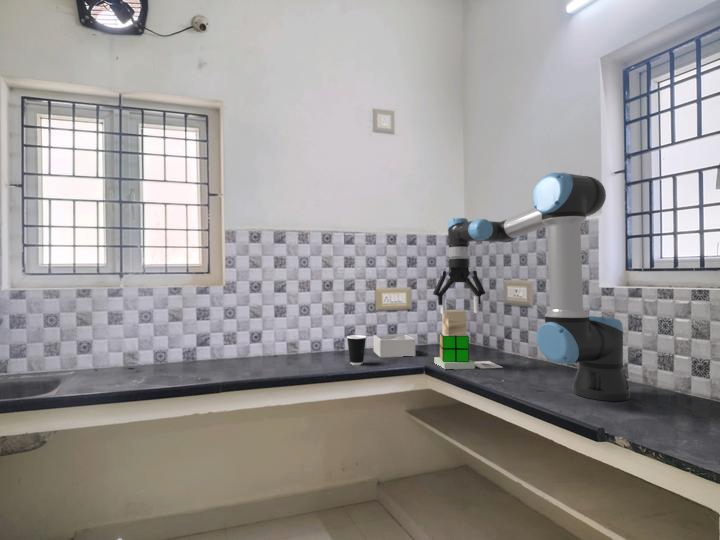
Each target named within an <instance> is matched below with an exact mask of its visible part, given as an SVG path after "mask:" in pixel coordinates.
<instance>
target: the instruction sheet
mask: <svg viewBox="0 0 720 540" xmlns="http://www.w3.org/2000/svg"><path fill="white" fill-rule="evenodd" d="M474 362H475V367H477V368H479V369H502V368H503V369H504V367H503V366H501V365H499V364H496V363H495V362H492V361H490V360H488V361H487V360H486V361H483V360H482V361H474Z"/></svg>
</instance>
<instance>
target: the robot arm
mask: <svg viewBox="0 0 720 540" xmlns="http://www.w3.org/2000/svg"><path fill="white" fill-rule="evenodd" d="M606 197H607V195H606V189H605V186H604V185H603V183H602V182H601V181H600V180H598V179H597V178H595V177H593V176H588V175H580V174H579V175H578V174H571V173H567V172H550V173H548V174H546V175H544V176H543V177H541V179H540V180H539V181H538V183H537V184H535V187H534V189H533V192H532V197H531V198H532V199H531V200H532V205H533V208H531V209H529V210H527V211H524V212H522V213H519V214H516V215H514V216H511V217H509V218H506V219H504V220H502V221H492V220H491V221H490V220H488V219H486V218H481V219H479V218H476V219H475V220H471V221H469V220H468V218H465V217H455V218H450V219H449V220H448V225H447V226H448V228H447V232H448V233H447V234H448V235H447V236H448V258H449V259H448V271H446V270H442V271H441V272H440V278H438V279H439V280H438V281H437V284H436V286H435V288H434V291H433V292H432V293H433V295H434V296H437V303H438V306H440V314H441V315H442V314H445V311H446V300H445V299H446V297H445V296H444V295H445V294H446V292H447V291H448V290H449V288H450V287H451V286H452V284H453V283H464V284H466V285H467V287H468V288H469V289H470V290H471V291H472V293H473V294H474V295H473V313H474V314H479V311H480V310H479V305H481V303H482V301H481V297H482V296H483V295H485V294H486V291H485V289H484V287H483V285H482V282H481V281H480V278H479V277H478V272H477V270H472V271H470V270H469V267H470V264H469V263H470V262H469V261H470V260H469V242H494V243H495V242H496V243H514V242H515V241H516V240H517V239H518V237H521V236H524V235H527V234H529V233H532V232H535V231H538V230H541V229H544V228H547V249H548V250H547V252H548V254H547V255H548V282H549V285H548V286H549V310H548V311H547V312H546V313H545V314H544V323H543V324H542V325H540V326H539V328H538V330H537V332H536V344H537V347H538V349H539V351H540V353H541V354H542V355H544V357H545V358H546V359H547V360H548V361H550V362H551V363H554V364H557V365H558V364H561V365H562V364H563V365H564V364H565V365H571V364H575V363H578V367H577V370H576V373H575V376H574V380H573V382H572V385H571V386H572V388H571V391H572V392H573V393H574V394H575V395H578V396H580V397H583V398H587V399H592V400H597V401H609V402H622V401H623V402H624V401H629V400H630V399H631V387H629V384H628V381H627V378H626V375H625V372H624V339H623V338H624V333H625V332H624V330H623V323H622V321H621V320H620V319H618V318H611V317H604V316H596V315H595V316H593V315H589V313H587V312H586V311H585V310H584V293H583V290H584V289H583V265H582V264H583V262H582V239H581V234H582V233H581V225H582V224H583V223H584V222H585V220H586V219H587V217H590V216H591V215H594V214H596V213H598V212H599V210H601V208H603V206H604V204H605V201H606V199H607V198H606ZM469 276H471V279H472V280H473V282H474V283H472V280H471V279H470V278H469ZM446 277H449V278H448V279H447V282H446V283H445V285H443V284H444V282H445V280H446ZM474 284H475V285H474Z"/></svg>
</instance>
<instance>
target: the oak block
mask: <svg viewBox="0 0 720 540" xmlns="http://www.w3.org/2000/svg"><path fill="white" fill-rule="evenodd" d="M466 312H467V311H464V310H459V309H458V310H456V309H455V310H449V309H448V310H446V309H445V314H441V315H442V320H441V321H442V322H441V323H442V325H441V326H442V333H443V334H446V335H448V336H451V335H467V313H466Z"/></svg>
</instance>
